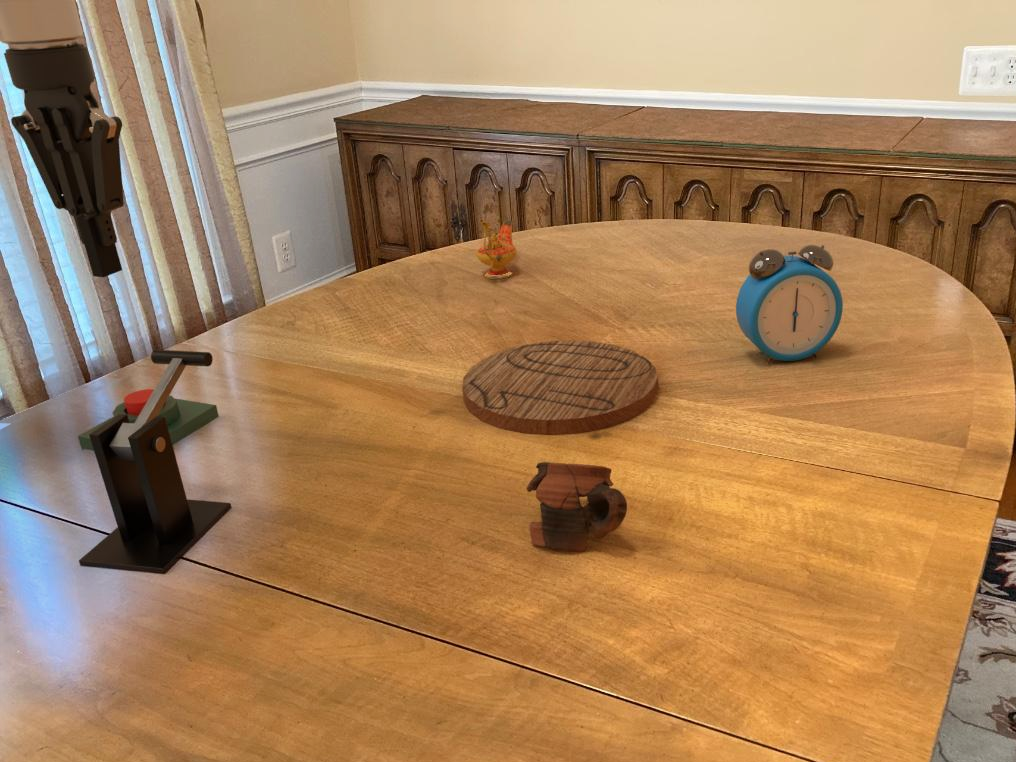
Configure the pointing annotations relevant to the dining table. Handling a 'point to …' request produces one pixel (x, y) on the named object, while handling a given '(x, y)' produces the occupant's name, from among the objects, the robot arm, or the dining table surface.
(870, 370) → the dining table surface
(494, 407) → the trivet
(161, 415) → the button block
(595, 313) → the dining table surface
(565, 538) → the pottery mug
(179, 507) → the bracket
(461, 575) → the dining table surface
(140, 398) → the button
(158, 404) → the lever
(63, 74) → the robot arm
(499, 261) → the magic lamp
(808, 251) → the alarm clock
